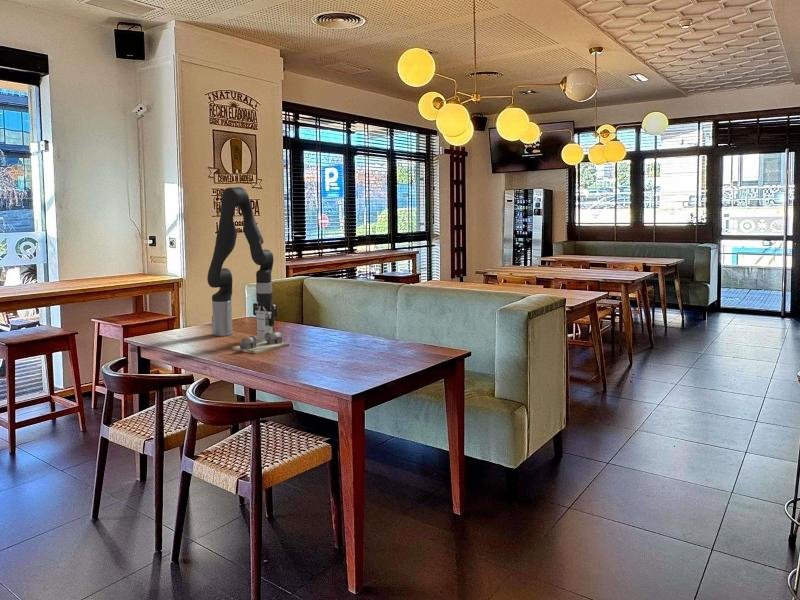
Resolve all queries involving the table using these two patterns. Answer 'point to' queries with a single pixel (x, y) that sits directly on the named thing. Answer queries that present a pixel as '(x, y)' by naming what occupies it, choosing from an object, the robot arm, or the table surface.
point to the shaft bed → (261, 344)
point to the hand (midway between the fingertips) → (265, 325)
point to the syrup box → (263, 325)
